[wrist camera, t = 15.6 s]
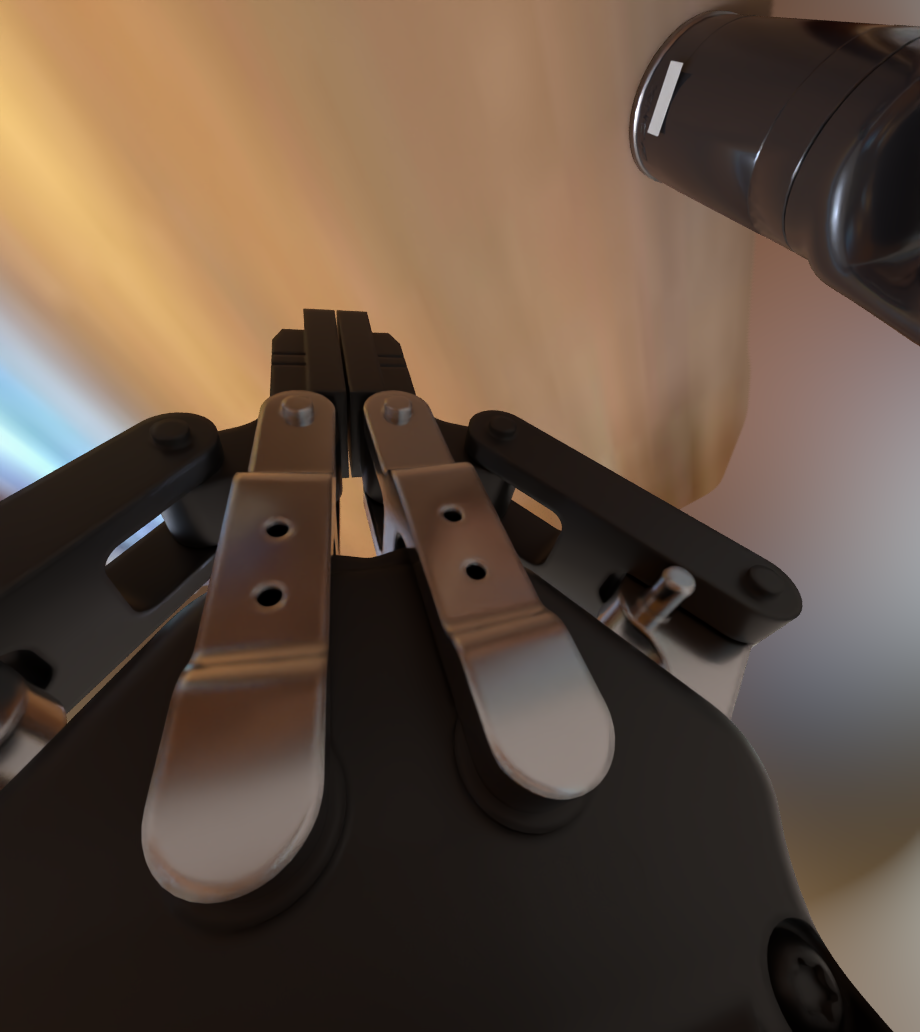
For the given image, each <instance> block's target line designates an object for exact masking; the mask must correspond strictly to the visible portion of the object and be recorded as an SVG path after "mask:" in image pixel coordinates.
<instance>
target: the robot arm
mask: <svg viewBox="0 0 920 1032" xmlns="http://www.w3.org/2000/svg"><path fill="white" fill-rule="evenodd" d="M629 140H630V148H631V153H632V156H633V159H634V161H635V163H636V165H637V167H638V168H639V169H640V171H641V172H642V173H643V174H644V175H646V176H647V177H649V178H651V179H653V180H655V181H657V182H660V183H664V184H666V185H668V186H669V187H671V188H673V189H675V190H676V191H678V192H680V193H682V194H684V195H686V196H688V197H690V198H692V199H693V200H695V201H697V202H699V203H701V204H703V205H705V206H707V207H709V208H711V209H712V210H714V211H716V212H718V213H720V214H722V215H724V216H726V217H728V218H730V219H731V220H733V221H735V222H737V223H739V224H741V225H743V226H745V227H747V228H749V229H750V230H752V231H754V232H756V233H758V234H760V235H762V236H764V237H766V238H768V239H770V240H772V241H774V242H776V243H778V244H779V245H781V246H784V247H785V248H787V249H789V250H791V251H793V252H795V253H796V254H798V255H800V256H802V257H804V258H805V259H807V260H808V261H809V264H810V266H811V268H812V270H813V271H814V273H815V274H816V276H817V277H818V278H820V280H821V281H823V282H824V283H825V284H826V285H828V286H829V287H831V288H833V289H834V290H836V291H837V292H839V293H841V294H842V295H844V296H845V297H847V298H848V299H850V300H852V301H853V302H854V303H856V304H858V305H859V306H861V307H862V308H864V309H865V310H867V311H868V312H870V313H871V314H873V315H874V316H876V317H877V318H879V319H880V320H881V321H883V322H884V323H886V324H887V325H889V326H890V327H892V328H893V329H895V330H896V331H898V332H899V333H900V334H902V335H903V336H905V337H906V338H908V339H909V340H911V341H912V342H914V343H915V344H917V345H919V346H920V27H919V26H905V25H883V24H869V23H853V22H838V21H825V20H824V21H823V20H809V19H794V18H780V17H766V16H756V15H739V14H736V13H733V12H729V11H709V12H705V13H702V14H699V15H697V16H695V17H693V18H691V19H690V20H688V21H687V22H685V23H684V24H683V25H681V26H680V27H679V28H678V29H677V30H676V31H674V32H673V33H672V34H671V35H670V37H669V38H668V39H667V40H666V41H665V42H664V43H663V45H662V46H661V47H660V48H659V50H658V51H657V53H656V54H655V56H654V57H653V59H652V60H651V62H650V64H649V66H648V67H647V69H646V71H645V73H644V75H643V78H642V80H641V82H640V85H639V87H638V90H637V93H636V96H635V99H634V103H633V106H632V111H631V117H630V126H629ZM303 311H304V330H293V329H282V330H281V331H280V332H279V333H278V334H277V335H276V336H275V337H274V338H273V339H272V359H271V363H272V365H271V384H270V397H269V398H268V399H266V400H265V401H264V402H263V404H262V405H261V408H260V412H259V417H258V419H256V420H255V421H253V422H251V423H248V424H246V425H243V426H239V427H235V428H231V429H226V430H222V431H217V428H216V426H215V425H214V424H213V423H212V422H211V421H210V420H209V419H207V418H205V417H203V416H200V415H196V414H192V413H167V414H161V415H157V416H154V417H151V418H148V419H146V420H144V421H142V422H140V423H138V424H136V425H135V426H133V427H131V428H129V429H128V430H126V431H124V432H122V433H120V434H119V435H117V436H115V437H113V438H112V439H110V440H108V441H106V442H105V443H103V444H101V445H99V446H97V447H96V448H94V449H92V450H90V451H89V452H87V453H85V454H83V455H82V456H80V457H78V458H76V459H74V460H73V461H71V462H69V463H67V464H66V465H64V466H62V467H60V468H59V469H57V470H55V471H53V472H51V473H50V474H48V475H46V476H44V477H43V478H41V479H39V480H37V481H36V482H34V483H32V484H30V485H28V486H27V487H25V488H23V489H21V490H20V491H18V492H16V493H14V494H13V495H11V496H9V497H7V498H5V499H4V500H2V501H0V1032H893V1031H892V1030H891V1029H890V1028H889V1027H888V1025H887V1024H886V1023H885V1022H884V1021H883V1020H882V1018H880V1016H879V1015H878V1014H877V1013H876V1011H875V1010H874V1009H873V1008H872V1007H871V1006H870V1004H869V1003H868V1002H867V1001H866V1000H865V999H864V997H863V996H862V995H861V994H860V993H859V991H858V990H857V989H856V988H855V987H854V985H853V984H852V983H851V981H850V980H849V979H848V978H847V976H846V975H845V974H844V972H843V971H842V969H841V968H840V967H839V965H838V964H837V962H836V961H835V960H834V958H833V957H832V955H831V954H830V952H829V951H828V949H827V947H826V946H825V944H824V942H823V941H822V939H821V937H820V935H819V934H818V932H817V930H816V928H815V926H814V924H813V922H812V920H811V917H810V915H809V912H808V909H807V907H806V904H805V902H804V899H803V897H802V894H801V891H800V889H799V886H798V883H797V880H796V877H795V873H794V870H793V867H792V864H791V861H790V857H789V853H788V849H787V846H786V842H785V838H784V832H783V827H782V822H781V817H780V812H779V807H778V803H777V798H776V795H775V792H774V789H773V786H772V783H771V781H770V779H769V776H768V774H767V772H766V770H765V767H764V765H763V764H762V762H761V760H760V759H759V757H758V755H757V753H756V751H755V750H754V749H753V747H752V746H751V744H750V743H749V742H748V740H747V739H746V738H745V736H744V735H743V734H742V733H741V731H740V730H739V729H738V728H737V727H736V725H734V723H733V722H732V721H731V717H732V714H733V710H734V707H735V703H736V699H737V696H738V692H739V689H740V686H741V682H742V679H743V675H744V671H745V668H746V664H747V661H748V657H749V654H750V650H751V648H752V647H753V646H754V645H756V644H757V643H759V642H760V641H762V640H763V639H765V638H766V637H768V636H769V635H771V634H772V633H774V632H775V631H777V630H778V629H780V628H781V627H783V626H784V625H786V624H787V623H789V622H790V621H792V620H793V619H795V618H796V617H797V616H799V614H800V612H801V611H802V599H801V596H800V593H799V591H798V589H797V588H796V586H795V584H794V583H793V582H792V581H791V579H790V578H789V577H788V576H787V575H786V574H785V573H784V572H783V571H782V570H781V569H779V568H778V567H777V566H775V565H774V564H773V563H771V562H769V561H768V560H766V559H764V558H762V557H761V556H759V555H757V554H755V553H754V552H752V551H750V550H749V549H747V548H745V547H743V546H742V545H740V544H738V543H736V542H735V541H733V540H731V539H730V538H728V537H726V536H724V535H722V534H720V533H719V532H717V531H716V530H714V529H712V528H710V527H709V526H707V525H705V524H703V523H702V522H700V521H698V520H696V519H695V518H693V517H691V516H689V515H688V514H686V513H684V512H682V511H681V510H679V509H677V508H675V507H674V506H672V505H670V504H669V503H667V502H665V501H663V500H662V499H660V498H658V497H656V496H655V495H653V494H651V493H649V492H648V491H646V490H644V489H642V488H641V487H639V486H637V485H635V484H634V483H632V482H630V481H628V480H627V479H625V478H623V477H621V476H620V475H618V474H616V473H615V472H613V471H611V470H609V469H608V468H606V467H604V466H602V465H601V464H599V463H597V462H595V461H594V460H592V459H590V458H588V457H587V456H585V455H583V454H581V453H580V452H578V451H576V450H574V449H573V448H571V447H569V446H567V445H566V444H564V443H562V442H560V441H559V440H557V439H555V438H554V437H552V436H550V435H548V434H547V433H545V432H543V431H541V430H540V429H538V428H536V427H534V426H533V425H531V424H529V423H527V422H526V421H524V420H522V419H520V418H519V417H517V416H515V415H512V414H510V413H507V412H503V411H495V410H489V411H483V412H480V413H477V414H475V415H474V416H473V417H472V418H471V419H470V422H469V426H468V427H467V426H462V425H457V424H452V423H448V422H444V421H441V420H439V419H436V418H434V416H433V414H432V412H431V409H430V407H429V406H428V404H427V403H426V402H425V401H424V400H422V399H421V398H419V397H418V396H416V394H415V390H414V387H413V384H412V381H411V378H410V374H409V371H408V368H407V365H406V362H405V359H404V355H403V352H402V349H401V346H400V344H399V343H398V342H397V341H396V340H395V339H394V338H393V337H392V336H391V335H390V334H389V333H372V331H371V327H370V323H369V319H368V315H367V312H360V311H341V310H337V325H336V318H335V311H334V310H321V309H303ZM348 452H349V460H350V467H351V475H352V477H362V480H363V503H364V507H365V511H366V515H367V519H368V523H369V527H370V531H371V535H372V539H373V543H374V547H375V550H376V554H377V556H376V557H372V558H360V557H351V556H342V555H340V497H341V495H342V478H349V464H348ZM515 488H517V489H518V490H520V491H522V492H523V493H525V494H526V495H528V496H529V497H531V498H533V499H534V500H536V501H537V502H539V503H540V504H542V505H544V506H545V507H547V508H548V509H550V510H551V511H553V512H554V513H555V514H556V515H557V516H558V517H559V519H560V521H561V524H562V531H560V530H558V529H556V528H554V527H553V526H551V525H550V524H548V523H547V522H545V521H544V520H542V519H540V518H539V517H537V516H536V515H534V514H533V513H531V512H530V511H528V510H527V509H525V508H523V507H522V506H520V505H519V504H517V503H516V502H514V501H513V500H511V498H512V496H513V493H514V490H515ZM160 514H161V515H162V517H163V519H164V522H162V523H161V524H160V525H158V526H157V527H156V528H155V529H153V530H152V531H151V532H149V533H148V534H147V535H145V536H144V537H143V538H142V539H140V540H139V541H138V542H136V543H135V544H134V545H132V546H131V547H130V548H128V549H127V550H126V551H125V552H123V553H122V554H121V555H119V556H118V557H117V558H115V559H114V560H113V561H112V562H110V563H109V564H108V565H106V561H107V559H108V557H109V555H110V554H111V553H112V551H113V550H114V549H115V548H116V547H117V546H118V545H120V544H121V543H122V542H124V541H125V540H126V539H128V538H129V537H130V536H132V535H133V534H134V533H136V532H137V531H138V530H140V529H141V528H142V527H144V526H145V525H146V524H148V523H149V522H150V521H152V520H153V519H154V518H156V517H157V516H158V515H160ZM105 565H106V566H105ZM209 579H210V581H209V586H208V590H207V592H206V593H205V594H203V595H201V596H200V597H198V598H197V599H195V600H194V601H192V602H191V603H190V604H188V605H187V606H186V607H185V608H183V609H182V610H181V611H180V612H178V613H177V614H176V615H175V616H174V617H173V618H172V619H171V620H170V621H169V622H167V623H166V624H165V625H164V626H163V627H162V628H161V630H160V631H158V632H157V634H155V636H154V637H153V638H152V639H151V640H150V641H149V642H148V643H147V644H146V645H145V646H144V647H143V648H142V649H141V650H140V651H139V652H138V653H137V654H136V655H135V656H134V657H133V658H132V659H131V660H130V661H129V662H128V663H127V664H126V665H125V666H124V667H123V668H122V669H121V670H120V671H119V672H118V673H117V674H116V675H115V676H114V677H113V678H112V679H111V680H110V681H109V682H108V683H107V684H106V685H105V686H104V687H103V688H102V689H101V690H100V691H99V692H98V693H97V694H96V695H95V696H94V697H93V698H92V699H91V700H90V701H89V702H88V703H87V704H86V705H85V706H84V707H83V708H82V709H81V710H80V711H79V712H78V713H77V714H76V715H75V716H74V717H73V718H72V719H71V720H70V721H69V722H68V723H67V716H66V714H67V713H68V712H69V711H70V710H71V709H72V708H73V707H74V706H76V704H78V703H79V702H80V701H81V700H82V699H83V698H84V697H85V696H86V695H87V694H88V693H89V692H90V691H91V690H92V689H93V688H94V687H96V686H97V685H98V684H99V683H100V682H101V681H102V680H103V679H104V678H105V677H106V676H107V675H108V674H109V673H110V672H111V671H112V670H113V669H115V668H116V667H117V666H118V665H119V664H120V663H121V662H122V661H123V660H124V659H125V658H126V657H127V656H128V655H129V654H130V653H132V652H133V651H134V650H135V649H136V648H137V647H138V646H139V645H140V644H141V643H142V642H143V641H144V640H145V639H146V638H147V637H148V636H149V635H150V634H151V633H153V632H154V631H155V630H156V629H157V628H158V627H159V626H160V625H161V624H162V623H163V622H164V621H165V620H166V619H167V618H169V617H170V616H171V615H172V614H173V613H174V612H175V611H176V610H177V609H178V608H179V607H180V606H181V605H182V604H183V603H184V602H185V601H186V600H187V599H189V598H190V597H191V596H192V595H193V594H194V593H195V592H196V591H197V590H198V589H199V588H200V587H201V586H202V585H203V584H204V583H206V582H207V581H208V580H209Z"/></svg>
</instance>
